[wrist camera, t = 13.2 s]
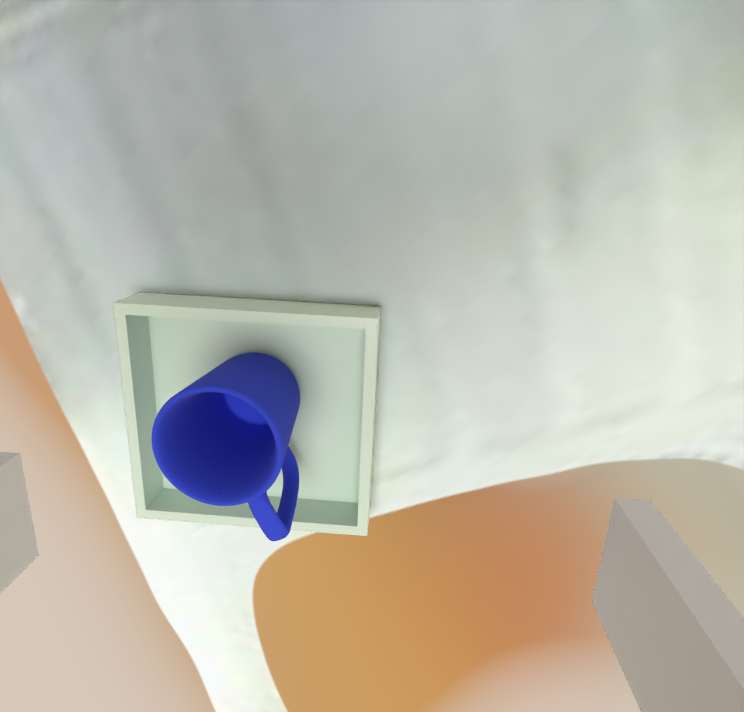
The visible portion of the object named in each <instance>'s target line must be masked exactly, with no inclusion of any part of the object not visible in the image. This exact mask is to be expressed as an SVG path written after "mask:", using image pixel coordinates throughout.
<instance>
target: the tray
mask: <svg viewBox="0 0 744 712" xmlns="http://www.w3.org/2000/svg"><path fill="white" fill-rule="evenodd" d="M113 307H114V316H115V325H116V334H117V343H118V352H119V361H120V370H121V379H122V388H123V397H124V406H125V416H126V425H127V434H128V443H129V452H130V461H131V470H132V479H133V488H134V497H135V506H136V516H137V518H147V519H159V520H172V521H184V522H197V523H210V524H222V525H235V526H247V527H260V526H259V524H258V523H257V521H256V520H255V518H254V516H253V514H252V512H251V510H250V507H249V504H248V502H247V503H244V504H240V505H234V506H217V505H210V504H206V503H202V502H200V501H197V500H195V499H193V498H191V497H189V496H187V495H185V494H184V493H182V492H181V491H179V490H178V489H177V488H176V487H174V486H173V485H172V484H171V483H170V482H169V481H168V479H167V478H166V477H165V476H164V474H163V473H162V471H161V470H160V468H159V466H158V464H157V462H156V459H155V457H154V453H153V449H152V439H151V437H152V428H153V424H154V421H155V418H156V416H157V414H158V412H159V411H160V409H161V408H162V406H163V405H164V404H165V403H166V402H167V401H168V400H169V399H170V398H171V397H172V396H174V395H175V394H177V393H178V392H180V391H181V390H183V389H184V388H186V387H187V386H189V385H190V384H192V383H193V382H195V381H196V380H198V379H199V378H201V377H202V376H204V375H205V374H207V373H208V372H210V371H211V370H213V369H214V368H216V367H217V366H219V365H220V364H222V363H223V362H225V361H226V360H228V359H230V358H231V357H234V356H236V355H239V354H243V353H251V352H256V353H263V354H267V355H270V356H273V357H275V358H276V359H278V360H280V361H281V362H283V363H284V364H285V365H286V366H287V367H288V368H289V369H290V370H291V372H292V373H293V375H294V376H295V378H296V381H297V383H298V386H299V391H300V406H299V410H298V414H297V417H296V421H295V424H294V427H293V431H292V434H291V438H290V441H289V444H288V446H289V448H290V449H291V451H292V452H293V454H294V456H295V459H296V462H297V465H298V469H299V491H298V497H297V504H296V508H295V513H294V517H293V521H292V525H291V529H290V530H298V531H310V532H324V533H336V534H348V535H361V536H367V532H368V523H369V515H370V505H371V486H372V467H373V447H374V428H375V409H376V390H377V370H378V351H379V332H380V313H381V306H367V305H350V304H333V303H316V302H299V301H282V300H265V299H248V298H231V297H213V296H196V295H179V294H162V293H145V292H140V293H138V294H135V295H132V296H130V297H127V298H125V299H122V300H119V301H117V302H114V303H113ZM282 489H283V473H282V468H281V471H280V473H279V475H278V477H277V479H276V481H275V482H274V483H273V485H272V486H271V487H270V488H269V489H268V490H267V496H268V498H269V500H270V503H271V504H272V506H273V508H274V509H275V511H276V513H277V511H278V508H279V504H280V500H281V495H282Z"/></svg>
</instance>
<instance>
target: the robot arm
mask: <svg viewBox="0 0 744 712" xmlns="http://www.w3.org/2000/svg"><path fill="white" fill-rule="evenodd" d="M37 556H38V549H37V544H36V538H35V533H34V527H33V522H32V516H31V511H30V505H29V500H28V494H27V489H26V484H25V478H24V473H23V467H22V462H21V456H20V453H8V452H0V593H1V592H2V591H3V590H4V589H5V588H6V587H7V586H8V585H9V584H10V583H11V582H12V581H13V580H14V579H15V578H16V577H17V576H18V575H19V574H20V573H21V572H22V571H23V570H24V569H25V568H26V567H27V566H28V565H29V564H30V563H31V562H32V561H33V560H34V559H35V558H36V557H37ZM592 603H593V605H594V608H595V610H596V612H597V614H598V617H599V619H600V621H601V623H602V626H603V628H604V630H605V632H606V635H607V637H608V639H609V641H610V643H611V646H612V648H613V650H614V652H615V655H616V657H617V659H618V661H619V663H620V666H621V668H622V670H623V672H624V674H625V677H626V679H627V681H628V683H629V686H630V688H631V690H632V692H633V695H634V697H635V699H636V701H637V703H638V706H639V708H640V710H641V712H744V617H743V616H742V615H741V614H740V612H739V611H738V610H737V608H736V607H735V606H734V605H733V603H732V602H731V601H730V600H729V598H728V597H727V596H726V595H725V593H724V592H723V591H722V590H721V588H720V587H719V586H718V584H717V583H716V582H715V581H714V579H713V578H712V577H711V575H710V574H709V573H708V572H707V570H706V569H705V568H704V567H703V565H702V564H701V563H700V562H699V560H698V559H697V558H696V556H695V555H694V554H693V553H692V551H691V550H690V549H689V548H688V546H687V545H686V544H685V542H684V541H683V540H682V539H681V537H680V536H679V535H678V534H677V532H676V531H675V530H674V529H673V527H672V526H671V525H670V524H669V522H668V521H667V520H666V518H664V516H663V515H662V513H661V512H660V511H659V510H658V508H657V507H656V506H655V504H654V503H653V502H652V501H651V500H641V499H627V498H614V502H613V507H612V511H611V516H610V520H609V525H608V530H607V534H606V539H605V543H604V548H603V552H602V557H601V562H600V566H599V571H598V575H597V580H596V584H595V589H594V594H593V599H592Z"/></svg>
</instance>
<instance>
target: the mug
mask: <svg viewBox="0 0 744 712" xmlns="http://www.w3.org/2000/svg"><path fill="white" fill-rule="evenodd" d="M299 406H300V391H299V386H298V383H297V381H296V378H295V376H294V375H293V373H292V372H291V370H290V369H289V368H288V367H287V366H286V365H285V364H284V363H283V362H281V361H280V360H278V359H276V358H275V357H273V356H270V355H267V354H263V353H256V352H251V353H243V354H239V355H236V356H234V357H231V358H230V359H228V360H226V361H225V362H223V363H222V364H220V365H219V366H217V367H216V368H214V369H213V370H211V371H210V372H208V373H207V374H205V375H204V376H202V377H201V378H199V379H198V380H196V381H195V382H193V383H192V384H190V385H189V386H187V387H186V388H184V389H183V390H181V391H180V392H178V393H177V394H175V395H174V396H172V397H171V398H170V399H169V400H168V401H167V402H166V403H165V404H164V405H163V406H162V408H161V409H160V411H159V412H158V414H157V416H156V418H155V421H154V424H153V428H152V437H151V439H152V449H153V453H154V457H155V459H156V462H157V464H158V466H159V468H160V470H161V471H162V473H163V474H164V476H165V477H166V478H167V479H168V481H169V482H170V483H171V484H172V485H173V486H174V487H176V488H177V489H178V490H179V491H181V492H182V493H184V494H185V495H187V496H189V497H191V498H193V499H195V500H197V501H200V502H202V503H206V504H210V505H217V506H234V505H240V504H244V503H247V502H248V504H249V507H250V510H251V512H252V514H253V516H254V518H255V520H256V521H257V523H258V524H259V526H260V528H261V529H262V531H263V532H264V534H265V535H266V536H267V538H268V539H269V540H271V541H277V540H280V539H283V538H285V537H286V536H287V535H288V534H289V532H290V529H291V525H292V521H293V517H294V513H295V508H296V504H297V497H298V491H299V469H298V465H297V462H296V459H295V456H294V454H293V452H292V451H291V449H290V448H289V446H288V444H289V441H290V438H291V434H292V431H293V427H294V424H295V421H296V417H297V414H298V410H299ZM281 468H282V473H283V489H282V495H281V500H280V504H279V508H278V511H277V513H276V511H275V509H274V508H273V506H272V504H271V503H270V500H269V498H268V496H267V490H268V489H269V488H270V487H271V486H272V485H273V483H274V482H275V481H276V479H277V477H278V475H279V473H280V471H281Z"/></svg>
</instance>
